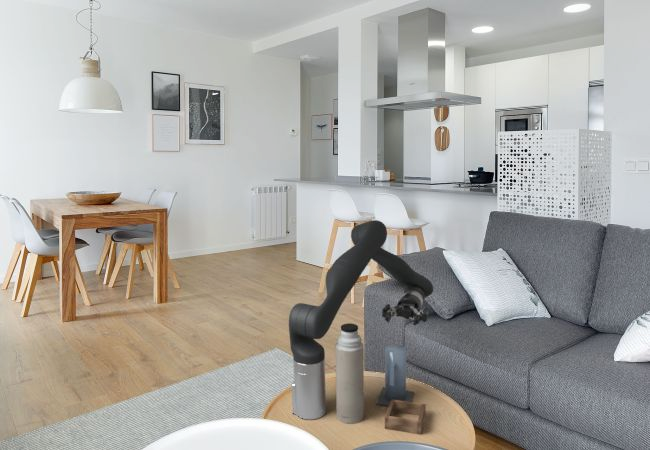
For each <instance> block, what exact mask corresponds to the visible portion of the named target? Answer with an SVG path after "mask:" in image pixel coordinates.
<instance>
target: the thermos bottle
mask: <svg viewBox="0 0 650 450" xmlns="http://www.w3.org/2000/svg"><path fill="white" fill-rule="evenodd" d="M358 331H359V325H357V324H356V323H350V322H349V323H344V324H342V325H341V326H340V334H339V335H338V336H337V342H336V343H335V392H336V393H335V394H336V395H335V396H336V399H335V400H336V401H335V402H336V403H335V404H336V405H335V406H336V418H337V419H338V421H340V422H341V423H345V424H356V423H359V422H361V421H363V419H364V417H365V404H364V403H365V401H364V400H365V399H364V397H365V393H364V385H365V384H364V383H365V381H364V377H365V376H364V373H365V372H364V366H365V365H364V343H363V342H362V338H361V335H360V334H359V332H358Z"/></svg>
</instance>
